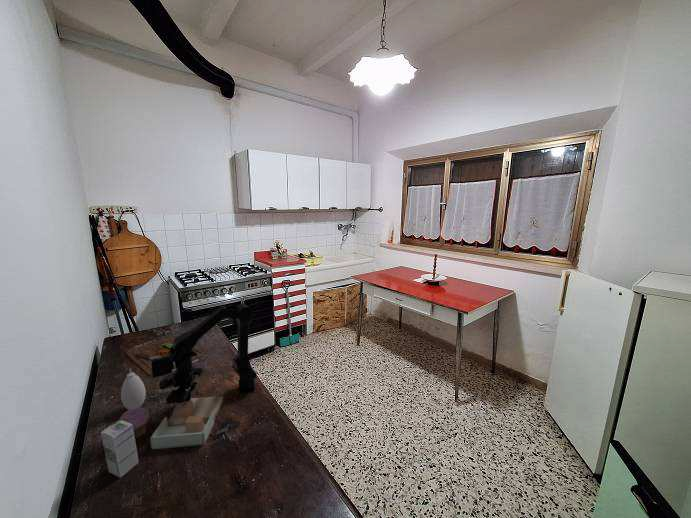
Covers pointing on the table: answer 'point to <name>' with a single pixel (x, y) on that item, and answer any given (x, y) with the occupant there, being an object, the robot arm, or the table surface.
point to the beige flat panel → (200, 410)
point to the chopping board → (155, 353)
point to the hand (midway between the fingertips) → (187, 403)
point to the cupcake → (136, 420)
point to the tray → (179, 435)
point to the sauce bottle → (133, 391)
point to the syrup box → (119, 448)
